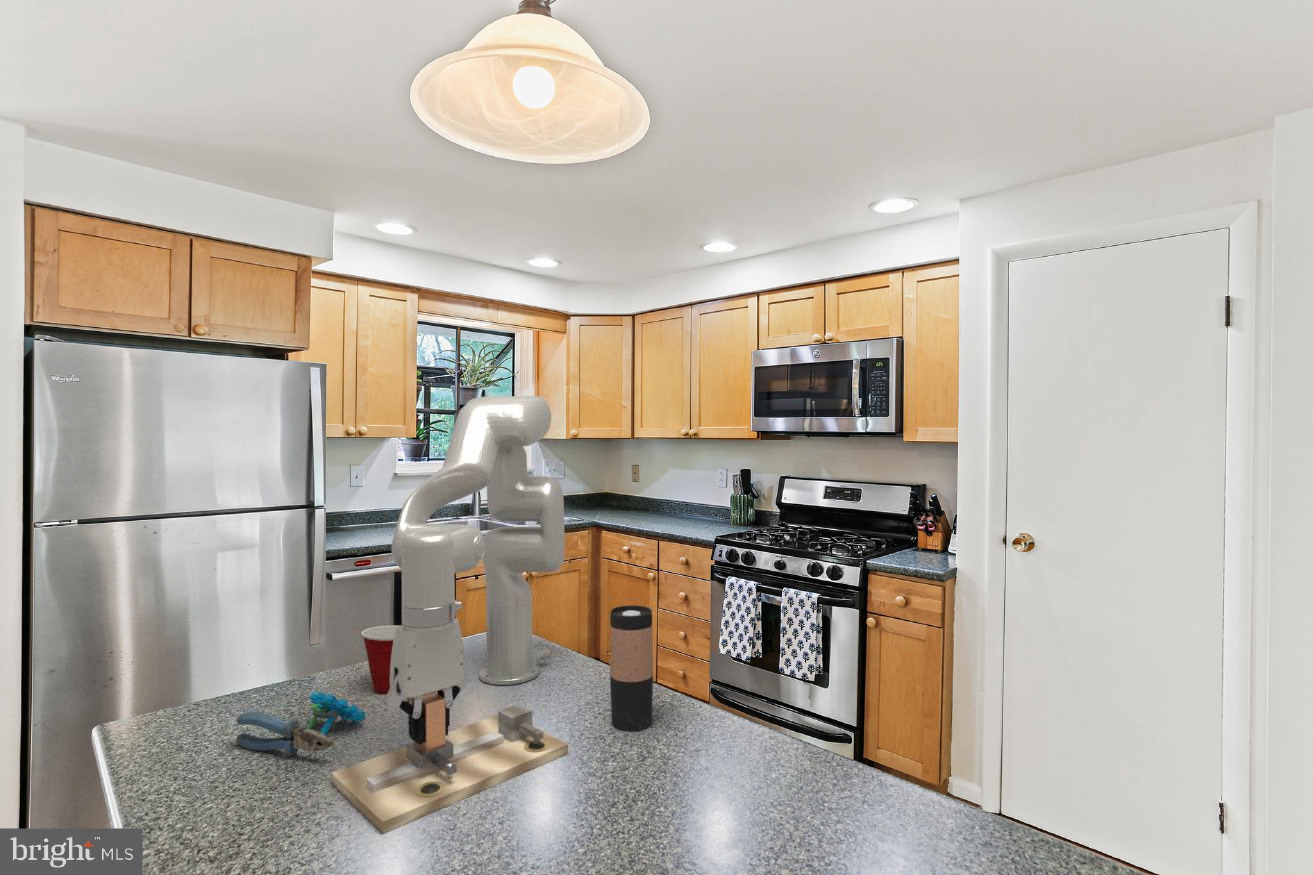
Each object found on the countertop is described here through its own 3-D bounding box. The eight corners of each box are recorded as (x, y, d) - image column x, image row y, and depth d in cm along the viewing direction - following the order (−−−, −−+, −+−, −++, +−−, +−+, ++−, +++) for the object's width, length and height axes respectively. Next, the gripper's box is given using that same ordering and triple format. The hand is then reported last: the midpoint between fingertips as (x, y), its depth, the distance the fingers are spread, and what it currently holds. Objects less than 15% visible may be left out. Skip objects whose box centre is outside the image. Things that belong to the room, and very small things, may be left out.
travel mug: (601, 722, 119) (601, 610, 119) (634, 710, 124) (634, 602, 124) (628, 736, 113) (628, 618, 113) (662, 723, 118) (661, 610, 118)
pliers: (336, 762, 105) (335, 724, 105) (325, 768, 103) (324, 730, 103) (245, 741, 112) (245, 706, 112) (233, 747, 110) (233, 711, 110)
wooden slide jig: (506, 720, 120) (506, 689, 120) (568, 753, 107) (567, 719, 107) (331, 782, 99) (331, 745, 99) (382, 833, 86) (382, 790, 86)
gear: (379, 716, 118) (338, 689, 112) (360, 750, 114) (318, 724, 108) (339, 712, 123) (299, 686, 118) (320, 744, 120) (278, 719, 114)
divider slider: (437, 752, 104) (436, 688, 104) (468, 773, 97) (468, 705, 97) (406, 763, 100) (405, 697, 100) (436, 786, 93) (436, 716, 93)
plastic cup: (427, 688, 135) (427, 629, 135) (373, 703, 128) (373, 641, 128) (405, 674, 143) (405, 619, 143) (353, 688, 136) (353, 629, 136)
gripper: (465, 600, 108) (466, 713, 109) (363, 621, 97) (364, 747, 97) (490, 609, 103) (490, 727, 103) (385, 631, 92) (386, 765, 92)
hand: (429, 735), depth 100 cm, fingers closed on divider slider, 3 cm apart
